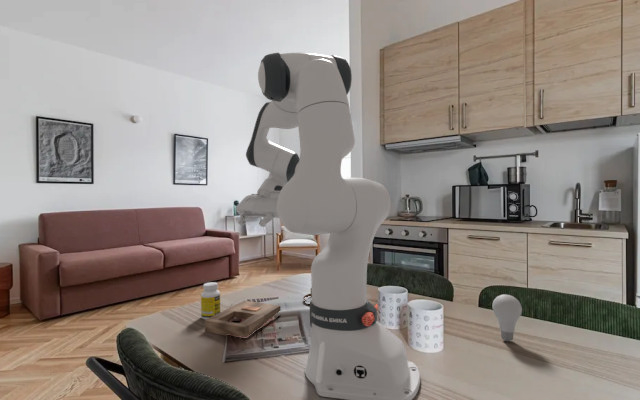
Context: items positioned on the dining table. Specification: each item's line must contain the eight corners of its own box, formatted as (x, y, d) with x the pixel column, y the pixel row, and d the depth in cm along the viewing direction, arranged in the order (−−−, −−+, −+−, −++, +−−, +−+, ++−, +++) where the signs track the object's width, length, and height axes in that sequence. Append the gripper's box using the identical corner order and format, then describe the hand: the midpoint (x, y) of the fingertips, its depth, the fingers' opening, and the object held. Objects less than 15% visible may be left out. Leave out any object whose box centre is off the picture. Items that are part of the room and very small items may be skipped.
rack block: (280, 315, 98) (280, 304, 98) (245, 339, 83) (245, 326, 83) (244, 310, 104) (244, 299, 104) (204, 331, 88) (204, 319, 88)
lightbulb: (525, 340, 79) (524, 294, 79) (518, 349, 75) (518, 300, 75) (496, 333, 83) (496, 289, 83) (489, 341, 79) (488, 295, 79)
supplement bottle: (217, 320, 96) (216, 286, 96) (198, 320, 96) (197, 286, 96) (223, 313, 102) (222, 281, 101) (205, 313, 102) (204, 281, 101)
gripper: (244, 188, 120) (223, 217, 112) (288, 187, 109) (268, 219, 101) (253, 200, 124) (234, 229, 116) (297, 200, 112) (279, 232, 105)
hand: (250, 224), depth 108 cm, fingers open, 8 cm apart
